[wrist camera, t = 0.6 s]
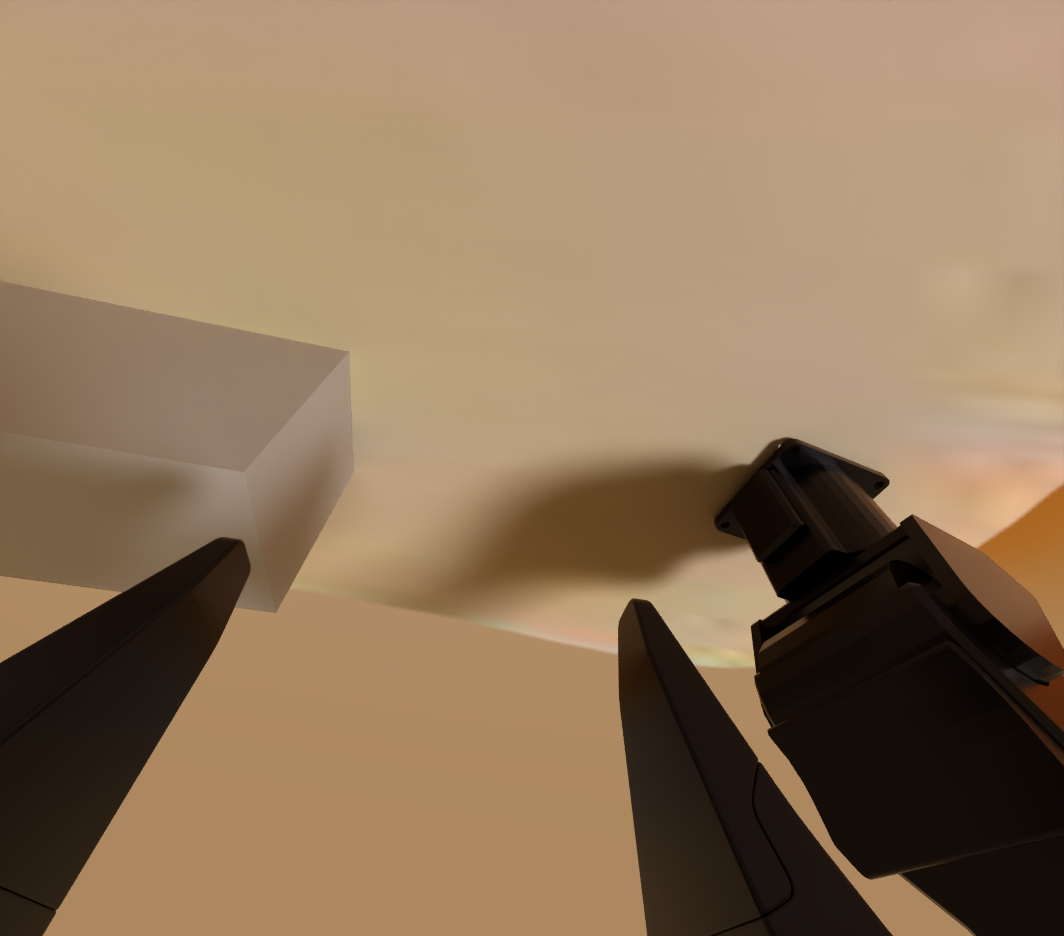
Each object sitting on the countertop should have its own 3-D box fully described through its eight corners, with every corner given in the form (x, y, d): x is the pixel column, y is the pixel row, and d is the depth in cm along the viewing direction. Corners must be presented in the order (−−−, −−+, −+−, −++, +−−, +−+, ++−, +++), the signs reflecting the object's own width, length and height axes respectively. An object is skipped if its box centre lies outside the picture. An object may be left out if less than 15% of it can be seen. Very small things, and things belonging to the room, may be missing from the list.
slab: (350, 350, 20) (243, 472, 13) (354, 470, 24) (275, 612, 17) (-48, 270, 18) (-428, 360, 11) (30, 414, 22) (-210, 547, 15)
